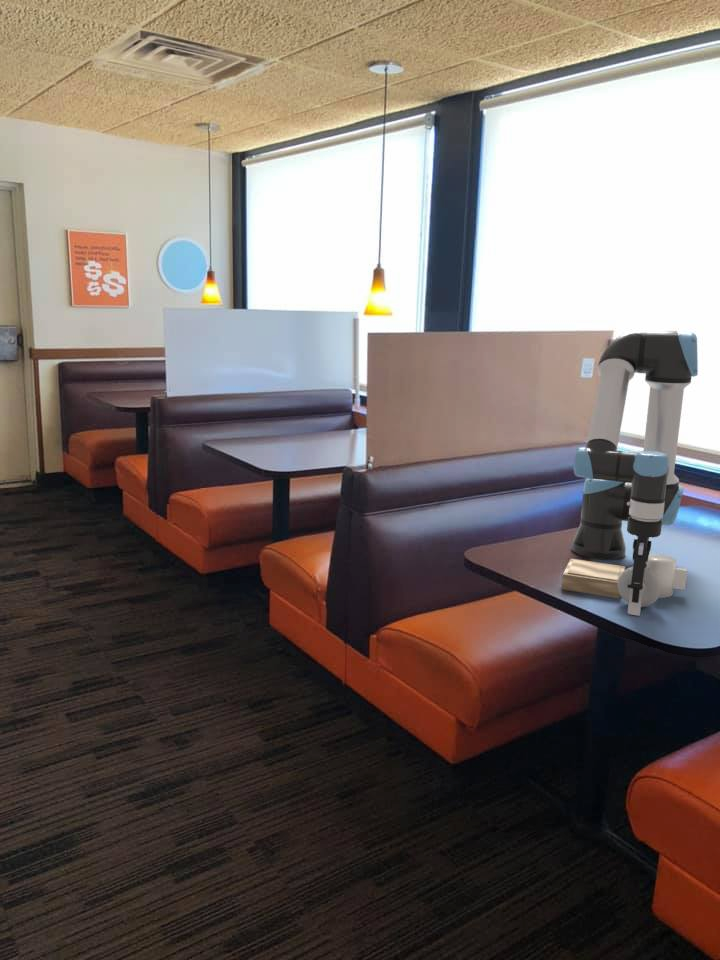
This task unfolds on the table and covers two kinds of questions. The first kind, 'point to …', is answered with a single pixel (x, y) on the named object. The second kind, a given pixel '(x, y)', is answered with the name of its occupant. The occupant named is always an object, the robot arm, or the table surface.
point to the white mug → (666, 573)
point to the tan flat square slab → (592, 578)
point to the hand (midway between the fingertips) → (635, 606)
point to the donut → (650, 582)
